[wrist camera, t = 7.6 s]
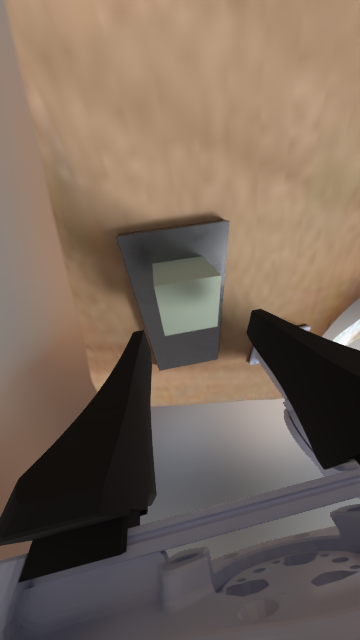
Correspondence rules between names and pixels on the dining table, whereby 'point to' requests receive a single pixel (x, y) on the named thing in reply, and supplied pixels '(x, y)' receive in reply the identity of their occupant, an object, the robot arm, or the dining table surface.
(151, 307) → the base plate
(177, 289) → the sage green cube
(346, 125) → the dining table surface
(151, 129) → the dining table surface
